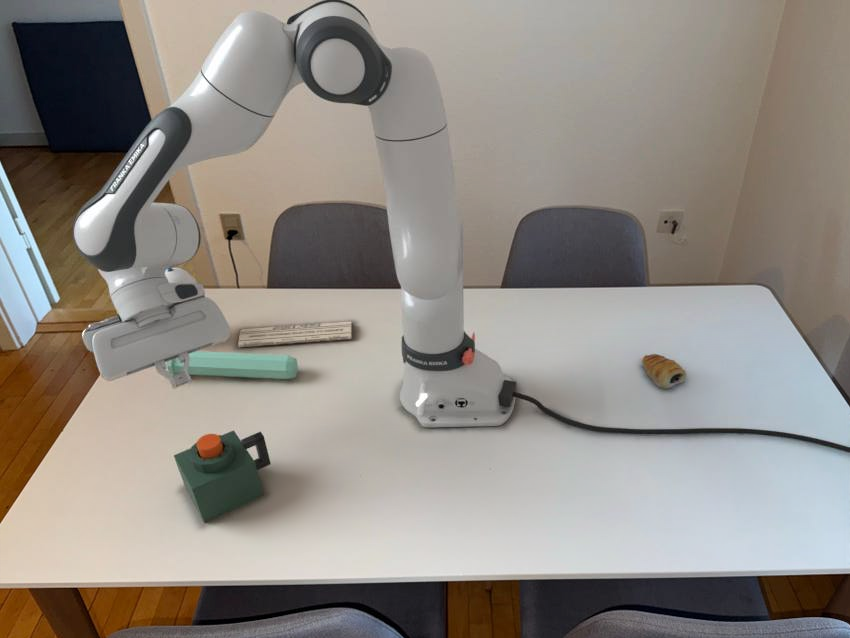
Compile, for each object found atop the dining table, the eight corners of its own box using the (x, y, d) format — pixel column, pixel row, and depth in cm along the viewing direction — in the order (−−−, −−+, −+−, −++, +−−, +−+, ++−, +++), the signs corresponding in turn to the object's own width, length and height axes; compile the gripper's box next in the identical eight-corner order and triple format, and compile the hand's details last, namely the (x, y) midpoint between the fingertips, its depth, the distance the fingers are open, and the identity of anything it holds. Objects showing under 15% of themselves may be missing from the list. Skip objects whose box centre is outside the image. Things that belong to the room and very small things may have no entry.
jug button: (218, 440, 114) (215, 430, 113) (226, 453, 112) (223, 443, 110) (196, 449, 112) (193, 439, 111) (204, 462, 110) (201, 452, 109)
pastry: (633, 366, 146) (635, 351, 143) (658, 357, 148) (661, 342, 146) (662, 392, 139) (666, 377, 137) (689, 382, 142) (692, 367, 139)
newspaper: (239, 349, 150) (237, 342, 148) (243, 330, 155) (242, 323, 154) (351, 341, 152) (350, 334, 151) (351, 322, 158) (351, 315, 157)
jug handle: (267, 459, 121) (260, 431, 117) (270, 464, 120) (263, 435, 116) (248, 467, 119) (240, 439, 115) (251, 472, 118) (243, 444, 114)
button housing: (243, 463, 123) (231, 421, 117) (263, 495, 117) (252, 452, 111) (185, 489, 118) (170, 446, 112) (204, 523, 113) (188, 480, 107)
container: (296, 347, 140) (172, 341, 140) (291, 373, 137) (164, 367, 137) (303, 362, 145) (182, 356, 146) (298, 387, 142) (175, 382, 143)
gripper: (75, 322, 105) (113, 407, 104) (211, 280, 114) (246, 358, 114) (78, 333, 110) (114, 413, 110) (208, 292, 120) (241, 366, 120)
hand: (182, 385), depth 112 cm, fingers closed
